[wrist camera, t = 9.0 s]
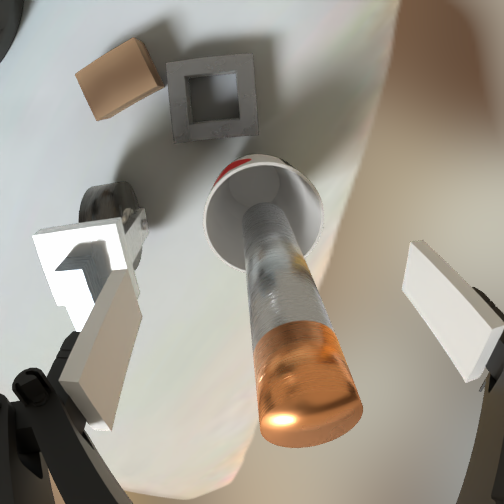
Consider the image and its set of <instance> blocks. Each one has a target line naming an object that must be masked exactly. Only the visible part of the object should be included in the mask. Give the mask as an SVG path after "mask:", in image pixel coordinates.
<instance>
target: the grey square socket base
mask: <svg viewBox="0 0 504 504" xmlns="http://www.w3.org/2000/svg"><path fill="white" fill-rule="evenodd" d="M166 71H167V82H168V93H169V103H170V112H171V121H172V130H173V138H174V143H182V142H190V141H198V140H207V139H216V138H226V137H237V136H249V135H259V130H258V116H257V102H256V89H255V75H254V62H253V53H246V54H232V55H221V56H211V57H202V58H194V59H187V60H180V61H174V62H168V63H166ZM232 73H236V80H237V92H238V105H239V117H240V118H229V119H219V120H210V121H201V122H193V116H192V107H191V96H190V86H189V78H195V77H203V76H212V75H221V74H232Z"/></svg>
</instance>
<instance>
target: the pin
mask: <svg viewBox="0 0 504 504" xmlns="http://www.w3.org/2000/svg"><path fill="white" fill-rule="evenodd" d="M242 233H243V245H244V256H245V268H246V279H247V291H248V302H249V313H250V325H251V336H252V347H253V358H254V368H255V379H256V390H257V401H258V411H259V422H260V431H261V434H262V436H263V437H264V438H265V439H266V440H267V441H269V442H270V443H272V444H275V445H278V446H282V447H290V448H301V447H310V446H316V445H320V444H323V443H326V442H329V441H332V440H334V439H336V438H338V437H340V436H342V435H344V434H345V433H347V432H348V431H349V430H350V429H352V428H353V427H354V426H355V425H356V424H357V423H358V421H359V420H360V418H361V416H362V413H363V406H362V403H361V400H360V397H359V395H358V392H357V389H356V387H355V384H354V381H353V379H352V376H351V373H350V371H349V368H348V365H347V363H346V360H345V357H344V355H343V352H342V350H341V347H340V344H339V342H338V339H337V337H336V334H335V332H334V329H333V327H332V324H331V322H330V319H329V317H328V314H327V312H326V309H325V307H324V304H323V302H322V299H321V297H320V295H319V292H318V290H317V287H316V285H315V282H314V280H313V278H312V275H311V273H310V270H309V268H308V266H307V263H306V261H305V259H304V256H303V254H302V252H301V249H300V247H299V245H298V242H297V240H296V238H295V235H294V233H293V231H292V229H291V226H290V224H289V222H288V219H287V217H286V215H285V213H284V211H283V210H282V209H281V208H280V207H279V206H277V205H276V204H273V203H270V202H261V203H257V204H255V205H253V206H251V207H250V208H249V209H248V210H247V211H246V212H245V214H244V216H243V219H242Z"/></svg>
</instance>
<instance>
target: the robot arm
mask: <svg viewBox="0 0 504 504" xmlns="http://www.w3.org/2000/svg"><path fill="white" fill-rule="evenodd" d="M22 9H23V0H0V62H1V60H2V59H3V57H4V56H5V54H6V52H7V50H8V49H9V47H10V45H11V43H12V41H13V38H14V36H15V34H16V31H17V28H18V25H19V22H20V18H21V14H22ZM402 291H403V292H404V293H405V295H406V296H407V297H408V299H409V300H410V301H411V303H412V304H413V305H414V307H415V308H416V309H417V311H418V312H419V314H420V315H421V317H422V318H423V319H424V321H425V322H426V324H427V325H428V326H429V328H430V329H431V330H432V332H433V334H434V335H435V336H436V338H437V339H438V341H439V342H440V344H441V345H442V347H443V348H444V350H445V351H446V353H447V354H448V355H449V357H450V359H451V360H452V362H453V363H454V365H455V366H456V368H457V370H458V371H459V373H460V374H461V376H462V377H463V379H464V381H465V382H466V383H467V382H469V381H472V380H474V379H477V378H479V377H480V376H481V374H482V372H483V370H484V368H485V367H486V368H487V369H488V371H489V374H488V376H487V377H486V379H485V381H484V383H483V384H482V386H481V387H480V390H479V391H480V392H481V391H482V389H483V388H484V387H485V391H484V397H483V403H482V409H481V414H480V420H479V425H478V429H477V434H476V438H475V443H474V447H473V451H472V454H471V458H470V462H469V466H468V469H467V472H466V476H465V479H464V482H463V485H462V488H461V491H460V494H459V497H458V500H457V503H456V504H504V314H503V313H502V312H501V311H500V310H499V309H498V308H497V307H495V304H494V303H493V302H492V301H490V299H489V298H488V297H487V296H486V295H485V294H484V293H483V292H482V291H480V290H478V289H477V288H475V287H471V286H470V285H469V284H468V283H467V282H466V281H465V280H464V279H463V278H462V277H461V276H460V275H459V274H458V273H457V272H456V271H455V270H454V269H453V268H452V267H451V266H450V265H449V264H448V263H447V262H446V261H445V260H444V259H443V258H442V257H441V256H440V255H438V254H437V253H436V252H435V251H434V250H433V249H432V248H431V247H430V246H429V245H428V244H427V243H426V242H424V241H423V240H420V241H410V247H409V253H408V259H407V265H406V270H405V275H404V281H403V285H402ZM141 320H142V314H141V311H140V308H139V305H138V301H137V298H136V295H135V292H134V288H133V285H132V282H131V278H130V275H129V271H128V269H117V270H112V272H111V274H110V276H109V277H108V279H107V281H106V283H105V285H104V287H103V288H102V290H101V292H100V294H99V296H98V298H97V300H96V302H95V304H94V306H93V308H92V310H91V312H90V314H89V316H88V318H87V320H86V322H85V324H84V326H83V328H82V330H81V331H73V332H72V333H71V334H70V335H69V336H68V337H67V338H66V339H65V340H64V342H63V344H62V346H61V348H60V351H59V352H58V354H57V356H56V359H55V361H54V363H53V365H52V367H51V369H50V371H49V373H48V376H47V378H46V376H45V375H44V373H43V372H42V370H40V369H38V368H29V369H26V370H24V371H22V372H21V373H19V374H18V375H17V377H16V378H15V379H14V382H13V384H12V390H13V392H14V393H15V394H16V396H17V397H18V398H19V400H20V401H16V402H9V401H8V399H7V398H6V397H5V396H4V395H2V394H0V504H55V501H54V497H53V493H52V488H51V483H50V478H49V472H48V469H49V471H50V473H51V475H52V477H53V480H54V482H55V484H56V486H57V488H58V490H59V492H60V494H61V496H62V498H63V500H64V502H65V504H133V503H132V501H131V500H130V499H129V497H128V496H127V495H126V493H125V492H124V490H123V489H122V488H121V486H120V485H119V483H118V482H117V480H116V479H115V477H114V476H113V474H112V473H111V471H110V470H109V468H108V467H107V465H106V464H105V462H104V461H103V459H102V457H101V456H100V454H99V453H98V451H97V449H96V448H95V446H94V444H93V443H92V441H91V439H90V438H89V436H88V434H87V433H86V431H85V430H84V428H85V424H86V421H87V422H88V424H89V425H90V426H91V428H92V429H93V430H101V431H112V427H113V423H114V419H115V415H116V411H117V406H118V402H119V398H120V394H121V391H122V387H123V383H124V379H125V375H126V372H127V368H128V364H129V361H130V357H131V354H132V350H133V347H134V343H135V340H136V337H137V333H138V330H139V327H140V323H141Z"/></svg>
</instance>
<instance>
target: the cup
mask: <svg viewBox="0 0 504 504" xmlns="http://www.w3.org/2000/svg"><path fill="white" fill-rule="evenodd" d="M261 202H270V203H273V204H276V205H277V206H279V207H280V208H281V209H282V210H283V211H284V213H285V215H286V217H287V219H288V222H289V224H290V226H291V229H292V231H293V233H294V235H295V238H296V240H297V242H298V245H299V247H300V249H301V252H302V254H303V256H304V259H305V258H306V257H307V256H308V255H309V254H310V253H311V251H312V250H313V249H314V247H315V246H316V244H317V242H318V240H319V238H320V236H321V233H322V229H323V224H324V209H323V204H322V201H321V198H320V195H319V193H318V191H317V190H316V188H315V187H314V185H313V184H312V183H311V181H310V180H309V179H308V178H307V177H305V176H304V175H303V174H302V173H300V172H299V171H298V170H297V169H295V168H294V167H293V166H291V165H290V164H289V163H287V162H286V161H284V160H282V159H280V158H277V157H274V156H270V155H263V154H250V155H246V156H243V157H240V158H238V159H237V160H235V161H234V162H232V163H231V164H230V165H228V166H227V167H226V168H225V169H224V170H223V171H222V172H221V173H220V174H219V176H218V177H217V179H216V181H215V183H214V185H213V187H212V190H211V192H210V194H209V196H208V199H207V201H206V204H205V208H204V213H203V229H204V233H205V237H206V240H207V242H208V244H209V246H210V248H211V249H212V251H213V252H214V253H215V255H216V256H217V257H218V258H219V259H220V260H221V261H222V262H224V263H225V264H226V265H228V266H230V267H231V268H233V269H235V270H238V271H240V272H243V273H246V268H245V256H244V245H243V233H242V219H243V216H244V214H245V212H246V211H247V210H248V209H249V208H250V207H251V206H253V205H255V204H257V203H261Z"/></svg>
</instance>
